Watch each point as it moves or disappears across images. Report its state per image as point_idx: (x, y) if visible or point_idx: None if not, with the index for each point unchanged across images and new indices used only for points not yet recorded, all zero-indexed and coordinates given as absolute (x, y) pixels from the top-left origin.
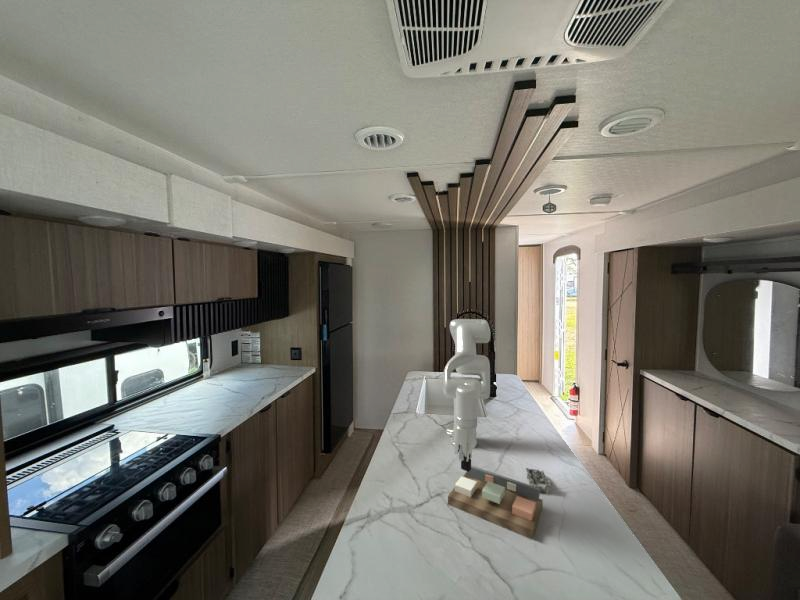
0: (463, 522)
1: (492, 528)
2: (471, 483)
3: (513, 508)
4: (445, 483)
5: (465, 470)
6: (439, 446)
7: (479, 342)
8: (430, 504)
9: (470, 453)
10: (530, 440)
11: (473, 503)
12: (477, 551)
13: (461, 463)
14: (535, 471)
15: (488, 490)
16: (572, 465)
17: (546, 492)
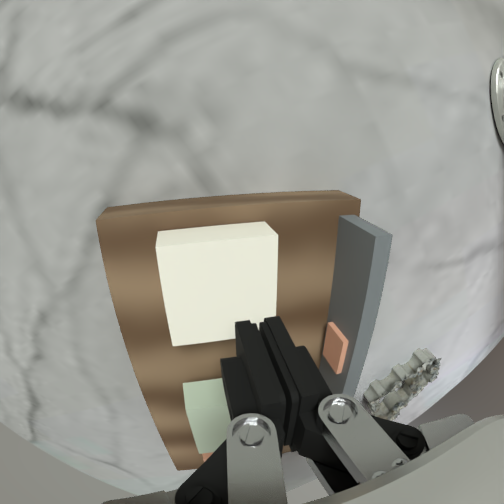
0: (69, 316)
1: (127, 391)
2: (240, 319)
3: (203, 456)
4: (256, 107)
5: (237, 353)
6: (465, 19)
7: None
8: (52, 139)
9: (328, 493)
10: None
11: (143, 346)
12: (28, 384)
13: (246, 363)
14: (432, 371)
15: (208, 423)
16: (463, 376)
17: (368, 406)
